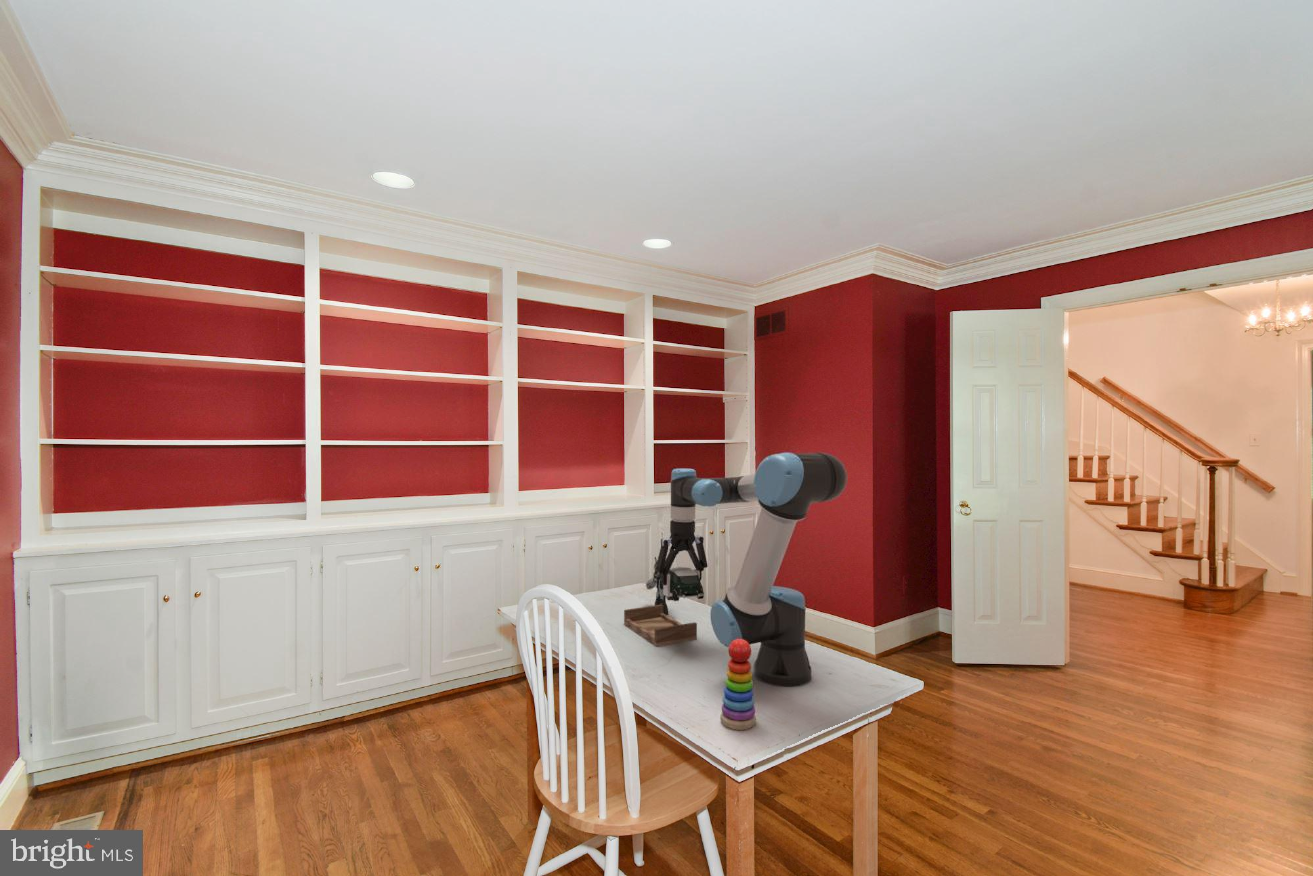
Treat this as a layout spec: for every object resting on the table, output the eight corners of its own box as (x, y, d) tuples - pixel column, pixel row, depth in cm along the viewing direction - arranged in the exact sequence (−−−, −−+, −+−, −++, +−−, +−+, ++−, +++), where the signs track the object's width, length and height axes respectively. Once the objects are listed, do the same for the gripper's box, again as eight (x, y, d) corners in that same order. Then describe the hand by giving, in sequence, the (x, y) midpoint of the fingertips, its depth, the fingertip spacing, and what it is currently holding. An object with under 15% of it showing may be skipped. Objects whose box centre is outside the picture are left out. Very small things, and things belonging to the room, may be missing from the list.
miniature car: (684, 585, 189) (685, 560, 189) (706, 601, 172) (706, 574, 172) (657, 587, 186) (658, 561, 186) (677, 604, 169) (677, 576, 169)
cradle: (696, 639, 186) (696, 623, 186) (656, 646, 179) (656, 630, 179) (661, 618, 207) (661, 604, 207) (624, 624, 200) (624, 609, 200)
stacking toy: (716, 727, 130) (716, 642, 130) (725, 711, 137) (725, 631, 137) (751, 734, 127) (752, 647, 127) (759, 717, 134) (759, 635, 134)
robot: (678, 619, 206) (679, 562, 206) (666, 621, 204) (666, 563, 204) (654, 604, 223) (654, 552, 223) (642, 606, 221) (642, 553, 221)
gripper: (707, 515, 187) (705, 585, 187) (644, 520, 176) (643, 594, 177) (720, 519, 180) (718, 592, 181) (656, 524, 170) (654, 601, 170)
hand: (681, 593), depth 179 cm, fingers closed on miniature car, 10 cm apart
